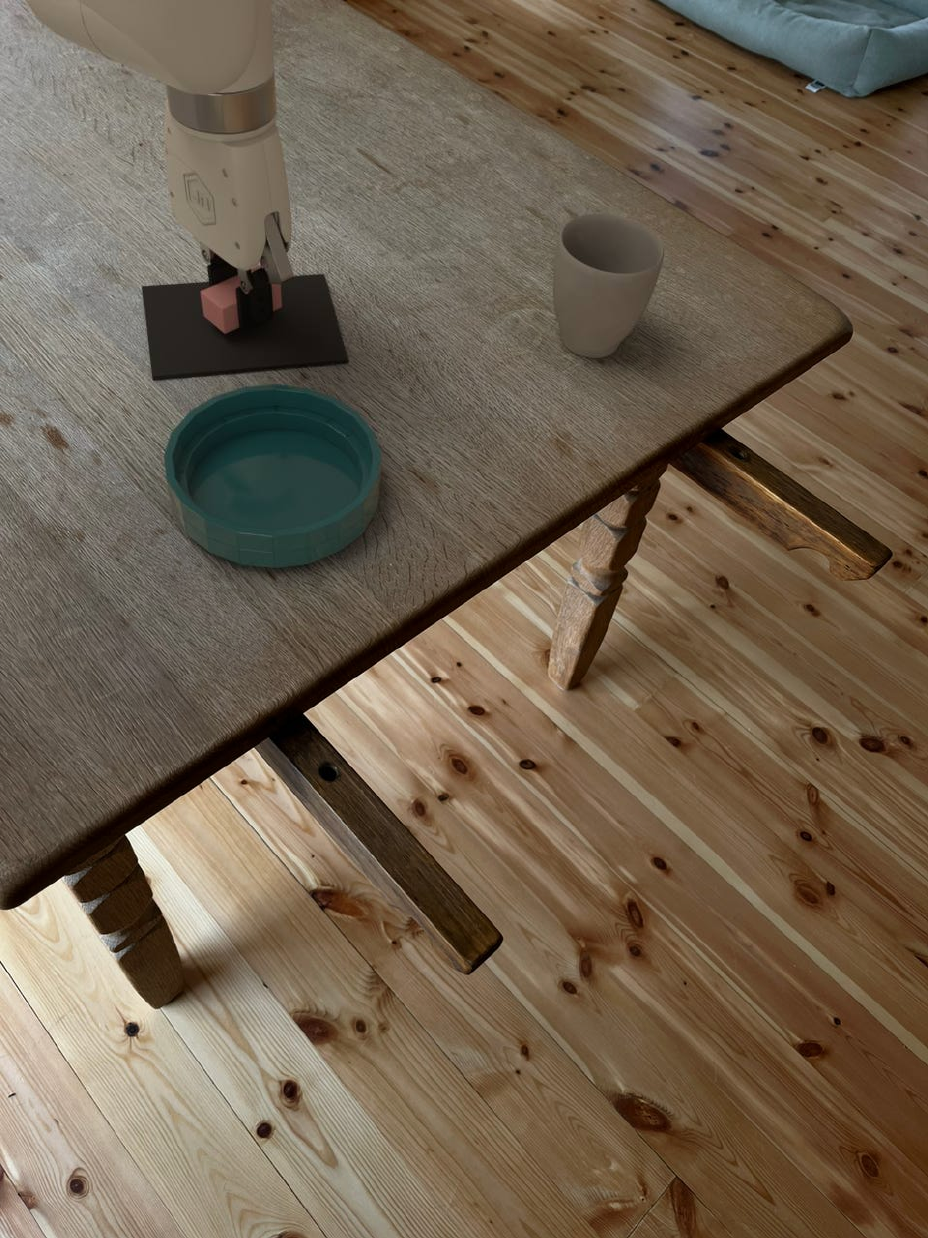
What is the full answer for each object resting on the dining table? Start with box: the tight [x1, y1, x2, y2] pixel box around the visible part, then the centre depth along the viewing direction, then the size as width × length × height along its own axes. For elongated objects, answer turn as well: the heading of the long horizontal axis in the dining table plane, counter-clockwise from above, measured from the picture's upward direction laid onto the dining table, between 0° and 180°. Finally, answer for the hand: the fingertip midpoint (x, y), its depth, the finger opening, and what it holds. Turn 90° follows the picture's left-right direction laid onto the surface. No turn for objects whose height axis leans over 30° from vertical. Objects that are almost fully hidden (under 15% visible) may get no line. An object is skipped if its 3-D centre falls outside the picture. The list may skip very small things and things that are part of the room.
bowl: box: [163, 383, 382, 569], centre depth 74 cm, size 15×15×4 cm
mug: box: [552, 212, 665, 359], centre depth 87 cm, size 12×9×10 cm
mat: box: [141, 273, 349, 381], centre depth 86 cm, size 16×12×1 cm
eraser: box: [201, 265, 282, 334], centre depth 84 cm, size 6×3×2 cm, turn 135°
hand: (242, 310), depth 85 cm, fingers closed on eraser, 3 cm apart
